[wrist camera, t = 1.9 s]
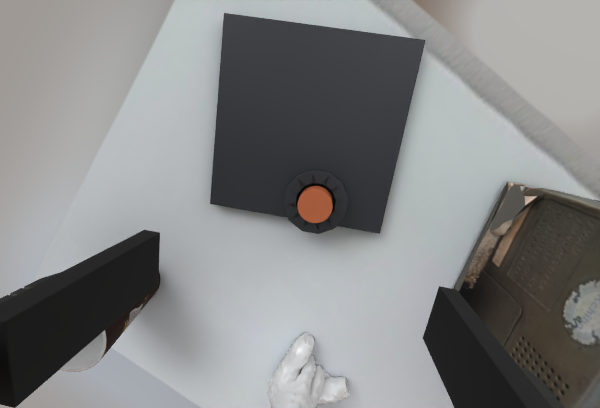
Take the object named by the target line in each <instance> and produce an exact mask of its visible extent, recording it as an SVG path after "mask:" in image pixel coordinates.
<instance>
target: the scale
mask: <svg viewBox="0 0 600 408" xmlns="http://www.w3.org/2000/svg"><path fill="white" fill-rule="evenodd" d="M424 44H425V40H420V39H413V38H405V37H398V36H390V35H383V34H376V33H368V32H361V31H353V30H346V29H338V28H331V27H324V26H316V25H309V24H301V23H294V22H286V21H279V20H272V19H264V18H257V17H249V16H242V15H234V14H227V13H224V22H223V36H222V49H221V63H220V77H219V91H218V104H217V118H216V132H215V145H214V159H213V173H212V186H211V200H210V204H214V205H220V206H225V207H231V208H237V209H243V210H248V211H254V212H260V213H265V214H271V215H277V216H283V217H288V219H289V220H290V222H292V223H293V224H294V225H296V226H297V227H298V228H299V229H301V230H302V231H305V232H311V233H317V234H319V233H322V232H325V231H328V230H331V229H334V228H335V227H336V226H340V227H346V228H352V229H357V230H363V231H369V232H374V233H380V230H381V226H382V221H383V217H384V213H385V209H386V205H387V200H388V196H389V192H390V188H391V183H392V179H393V175H394V171H395V166H396V162H397V158H398V154H399V150H400V145H401V141H402V137H403V133H404V128H405V124H406V120H407V116H408V111H409V107H410V103H411V99H412V95H413V90H414V86H415V82H416V78H417V73H418V69H419V65H420V61H421V56H422V52H423V48H424ZM311 186H320V187H323V188H325V189H326V190H327V191H328V192H329V193H330V195H331V197H332V204H333V208H332V212H331V214H330V216H329V217H328V218H327V219H326V220H324V221H323V222H320V223H311V222H308V221H306V220H304V219H303V218H302V217H301V215H300V214H299V212H298V207H297V204H298V200H299V198H300V195H301V194H302V192H303V191H304V190H305V189H306V188H308V187H311Z"/></svg>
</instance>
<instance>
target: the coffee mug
mask: <svg viewBox="0 0 600 408" xmlns="http://www.w3.org/2000/svg"><path fill="white" fill-rule="evenodd" d="M159 285H160V274H159V272H158V285H156V286H155V287H154V288H153V289H152V290H151V291H150V292H148V293H147V294H146V295H145V296H144V297H143V298H141V299H140V300H139V301H138V302H137V303H136V304H134V305H133V306H132V307H131V308H130V309H129V310H128V311H126V312H125V313H124V314H123V315H122V316H121V317H119V318H118V319H117V320H116V321H115V322H114V323H113V324H111V325H110V326H109V327H108V328H107V329H106V330H104V331H103V332H102V333H101V334H100V335H99V336H97V337H96V338H95V339H94V340H93V341H92V342H91V343H89V344H88V345H87V346H86V347H85V348H84V349H82V350H81V351H80V352H79V353H78V354H77V355H75V356H74V357H73V358H72V359H71V360H70V361H69V362H67V363H66V364H65V365H64V366H63V367H62V368H60V369H59V370H63V371H70V372H76V371H83V370H87V369H89V368H91V367H93V366H94V365H96V364H97V363H98V362H99V361H100V360H101V358H102V357H103V356H104V355H105V354H106V352H107V351H108V350H109V349H110V348H111V346H112V345H113V344H114V343H115V342H116V340H117V339H118V338H119V337H120V335H121V334H122V333H123V332H124V331H125V329H126V328H127V327H128V326H129V324H130V323H131V322H132V321H133V320H134V318H135V317H136V316H137V315H138V313H139V312H140V311H141V310H142V309H143V307H144V306H145V305H146V304H147V302H148V301H149V300H150V299H151V298H152V296H153V295H154V294H155V293H156V291H157V290H158V288H159Z"/></svg>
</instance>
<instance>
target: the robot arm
mask: <svg viewBox="0 0 600 408" xmlns="http://www.w3.org/2000/svg"><path fill="white" fill-rule="evenodd" d="M159 242H160V233H158V232H153V231H148V230H143V231H141V232H140V233H138V234H136V235H134V236H132V237H130V238H128V239H126V240H124V241H122V242H120V243H118V244H116V245H114V246H112V247H110V248H108V249H106V250H104V251H102V252H100V253H98V254H96V255H94V256H93V257H91V258H89V259H87V260H85V261H83V262H81V263H79V264H77V265H75V266H73V267H71V268H69V269H67V270H65V271H63V272H61V273H57V274H54V275H51V276H48V277H44V278H41V279H39V280H37V281H35V282H33V283H31V284H29V285H27V286H25V287H24V288H21V289H19V290H17V291H15V292H13V293H11V294H10V295H7V296H5V297H3V298H0V404H1V405H5V406H9V407H14V408H15V407H16V406H18V405H19V404H20V403H21V402H22V401H23V400H24V399H26V398H27V397H28V396H29V395H30V394H31V393H33V392H34V391H35V390H36V389H37V388H38V387H40V386H41V385H42V384H43V383H44V382H45V381H46V380H48V379H49V378H50V377H51V376H52V375H53V374H55V373H56V372H57V371H58V370H59V369H60V368H62V367H63V366H64V365H65V364H66V363H67V362H69V361H70V360H71V359H72V358H73V357H74V356H75V355H77V354H78V353H79V352H80V351H81V350H82V349H84V348H85V347H86V346H87V345H88V344H89V343H91V342H92V341H93V340H94V339H95V338H96V337H97V336H99V335H100V334H101V333H102V332H103V331H104V330H106V329H107V328H108V327H109V326H110V325H111V324H113V323H114V322H115V321H116V320H117V319H118V318H119V317H121V316H122V315H123V314H124V313H125V312H126V311H128V310H129V309H130V308H131V307H132V306H133V305H134V304H136V303H137V302H138V301H139V300H140V299H141V298H143V297H144V296H145V295H146V294H147V293H148V292H150V291H151V290H152V289H153V288H154V287H155V286H156V285H158V272H159ZM423 339H424V342H425V344H426V346H427V348H428V350H429V353H430V355H431V357H432V359H433V361H434V364H435V366H436V368H437V370H438V372H439V375H440V377H441V379H442V381H443V383H444V386H445V388H446V390H447V392H448V394H449V397H450V399H451V401H452V403H453V405H454V408H565V407H564V405H563V404H562V403H561V402H560V401H558V400H557V397H556V396H555V395H554V394H553V393H552V391H551V390H550V389H549V388H548V387H547V386H546V384H545V383H544V382H543V381H541V380H540V379H539V378H538V377H536V376H535V375H534V374H533V373H532V372H530V371H529V370H528V369H527V368H524V367H519V366H518V365H517V363H516V362H515V361H514V360H513V358H512V357H511V356H510V355H509V353H508V352H507V351H506V350H505V349H504V347H503V346H502V345H501V344H500V342H499V341H498V340H497V339H496V338H495V336H494V335H493V334H492V333H491V331H490V330H489V329H488V328H487V326H486V325H485V324H484V323H483V322H482V320H481V319H480V318H479V317H478V315H477V314H476V313H475V312H474V310H473V309H472V308H471V307H470V306H469V304H468V303H467V302H466V301H465V299H464V298H463V297H462V296H461V294H460V293H459V292H458V291H457V290H455V289H450V288H445V287H439V289H438V292H437V295H436V298H435V302H434V305H433V308H432V311H431V314H430V317H429V321H428V324H427V327H426V330H425V333H424V336H423Z"/></svg>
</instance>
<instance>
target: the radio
mask: <svg viewBox="0 0 600 408" xmlns="http://www.w3.org/2000/svg"><path fill="white" fill-rule="evenodd" d="M454 289H455V290H457V291H458V292H459V293H460V294H461V296H462V297H463V298H464V299H465V301H466V302H467V303H468V304H469V306H470V307H471V308H472V309H473V310H474V312H475V313H476V314H477V315H478V317H479V318H480V319H481V320H482V322H483V323H484V324H485V325H486V326H487V328H488V329H489V330H490V331H491V333H492V334H493V335H494V336H495V338H496V339H497V340H498V341H499V342H500V344H501V345H502V346H503V347H504V349H505V350H506V351H507V352H508V353H509V355H510V356H511V357H512V358H513V360H514V361H515V362H516V363H517V365H518V366H519V367H524V368H527V369H528V370H529V371H530V372H532V373H533V374H534V375H535V376H536V377H538V378H539V379H540V380H541V381H543V382H544V383H545V384H546V386H547V387H548V388H549V389H550V390H551V391H552V393H553V394H554V395H555V396H556V397H557V400H558V401H560V402H561V403H562V404H563V405H564V407H565V408H600V201H597V200H592V199H588V198H584V197H580V196H575V195H571V194H567V193H563V192H559V191H553V190H548V189H543V188H534V187H530V186H527V185H524V184H517V183H510V182H507V183H506V185H505V187H504V189H503V191H502V193H501V195H500V197H499V199H498V201H497V203H496V205H495V207H494V209H493V211H492V213H491V215H490V217H489V219H488V221H487V223H486V225H485V227H484V229H483V231H482V233H481V235H480V237H479V239H478V241H477V243H476V245H475V247H474V249H473V251H472V253H471V255H470V257H469V259H468V261H467V263H466V265H465V267H464V269H463V271H462V273H461V275H460V277H459V279H458V281H457V283H456V285H455V287H454Z"/></svg>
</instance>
